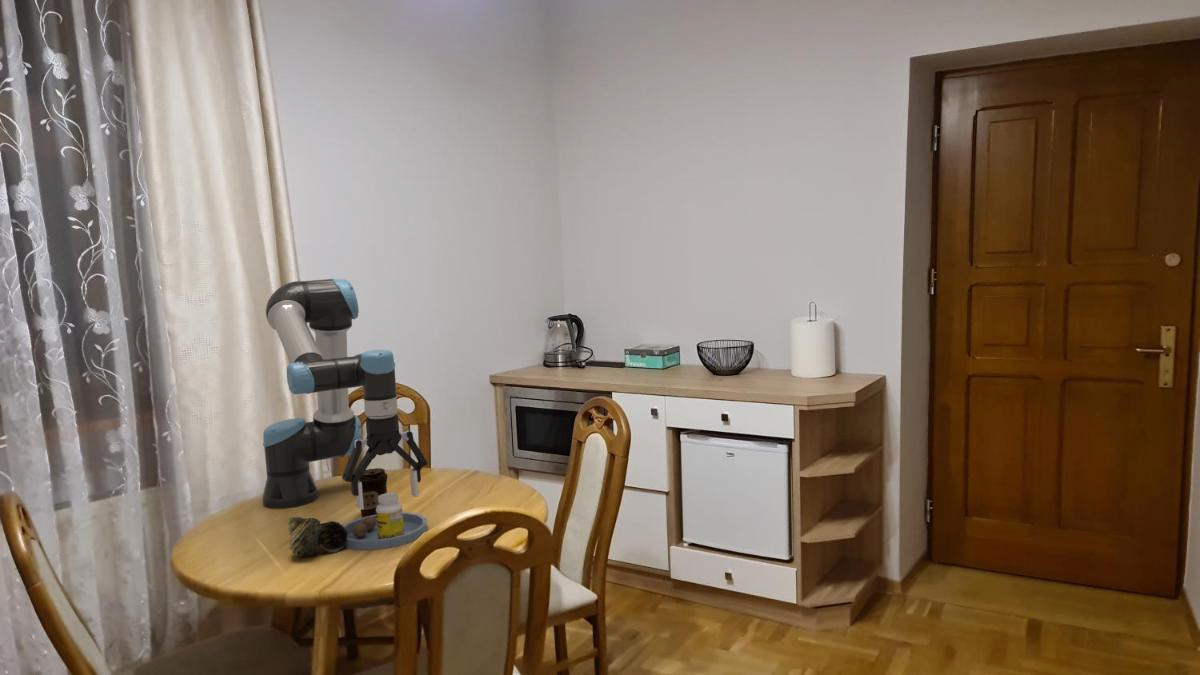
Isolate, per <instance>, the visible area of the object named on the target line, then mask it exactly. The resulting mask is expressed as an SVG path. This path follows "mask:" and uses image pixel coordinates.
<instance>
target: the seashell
mask: <svg viewBox="0 0 1200 675" xmlns="http://www.w3.org/2000/svg"><path fill="white" fill-rule="evenodd" d="M287 520H288V521H287V524H288V533H289V535H290V536H291V537H290V538H291V539H290V542H289V550H291V552H292V554H293V555H295V556H296V557H297V558H299V557H300V558H309V557H310V558H311V557H315V556H319V555H326V554H335V553H338V552H339V551H340V550H342V549H343V548H345V547H344V546H345V544H346V542H347V534H348V533H347V530H346V529H345V528H344V525H342V524H341V523H340V522H339V521H337V522H336V521H333V520H331V521H327V522H322V523H321V521H320V520H319V519H318V518H314V517H305V518H303V517H300V516H299V517H298V516H297V517H295V516H290V517H288V519H287Z"/></svg>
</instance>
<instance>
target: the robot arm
mask: <svg viewBox="0 0 1200 675" xmlns="http://www.w3.org/2000/svg"><path fill="white" fill-rule="evenodd" d="M359 313H360V312H359V302H358V299H357V294H356V292H355V289H354V287H353V284H352V283H351V282H350V280H347V279H346V278H345V279H344V278H342V279H341V278H336V279H335V278H327V279H317V280H316V279H315V280H305V281H304V280H301V281H300V280H297V281H291V282H288V283H285V284H283V285H281V286H280V287H278V288H277V289H276V290H275V291H274V292H273V293H272V294H271V296H270V297H269V299H268V300H267V303H266V307H265V316H266V319H267V322H268V324H269V326H270V327H271V328H272V329H273V330H275V331H276V333H277V336H278V338H279V341H280V342H281V345H282V347H283V350H284V352H285V354H286V356H287V359H288V361H289V364H288V365H287V367H286V380H287V386H288V390H289V391H290V393H291V394H293V395H302V394H305V395H310V394H315V393H317V408H318V409H317V410H315V411H314V412H313V414H312V421H306V419H305V418H303V417H296V418H288V419H284V420H282V421H281V420H279V421H277V422H275V423H272V424H270V425H268V426H266V427H265V429H264V431H263V437H262V438H263V443H262V445H263V446H262V447H264V448H263V449H264V458H265V469H266V481H265V485H264V490H263V494H262V505H263V506H264V507H265V508H269V509H287V508H294V507H299V506H304V505H306V504H309V503H312V502H315V500H317V499H319V490H318V487H317V485H316V482H315V481H314V478H313V475H312V474H311V471H310V470H311V469H310V463H311V462H312V463H313V462H317V461H323V460H329V459H334V458H343V457H344V458H345V457H346V456H349V458H348V461H347V462H346V466H345V469H344V471H343V474H342V477H341V479H342V480H343V481H345V482H347V483H350V487H351V494H352V496H354V497H355V499H356V502H355V503H356V508H358V510H360V511H361V510H362V509H364V506H363V493H362V482H360V481H359V479H360V478H361V476H362V475H363V473H364V472H365V470H368V467H369V466H370V465H371V463H372V461H373V460H374V459H375V458H376V456H377V455H378V456H383V455H386V454H388V455H390V454H393V453H394V452H395V453H396V454H398V455H399V456H400V457H401V458H402V459H403V460H404V461H406V462H407V463H408V464H409V466H411V467H412V468H409V479H410V492H411V496H413V497H415V498H418V497H419V483H421V481H422V478H421V475H422V474H421V471H422V470H423V467H427V465H428V461H427V459H426V458H425V456H424V454H423V453H422V451H421V449H420V448H419V446H418V445H417V443H416V441H415V438H414V434H413V432H412V431H411V430H408V429H405V430H404V431H402V432H400V425H399V421H400V420H399V415H398V414H397V413H398V412H399V411H398V398H397V397H398V396H397V384H396V370H395V368H396V362H395V360H394V359H395V358H394V354H393V351H392V350H389V349H374V350H367V351H364V352H362V353H358V354H356V355H353V356H348V337H347V336H348V333H347V332H348V331H349V330H350V329H351V328H352V327H353V320H356V319H358V318H359ZM307 323H308V324H307ZM311 330H312V331H313V332H314V335H315V338H314V336H313V334H312V332H311ZM357 387H358V388H359V387H362V392H363V401H364V416H366V417H365V430H366V437H365V439H362V428H361V426H362V423H361V420H360V418H359V417H358V416H357V415H355V411H354V410H353V409H352V408H350V407H349V406H350V405H349V402H350V401H349V389H350V388H357ZM402 439H403V440H404V441H405V442H406V444H407V445H408V447H409V448H410V450H411V452H412V453H413V455H414V456H415V458H416V460H417V461H416V460H415V459H414V458H413V457H412V456H411V455H409V454H408V453H407V452H406V451H405V450H404V449H403V448H402V447H401V446H400V445H399V444H400V442H401V440H402ZM365 446H367V447H368V449H367V450H366V452H365V454H364V456H363V458H362V459H361V460H360V462H359V463H358V461H359V459H360V456H361V453H362V450H363V449H364V447H365ZM357 464H358V465H357Z"/></svg>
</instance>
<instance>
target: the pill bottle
mask: <svg viewBox="0 0 1200 675" xmlns="http://www.w3.org/2000/svg"><path fill="white" fill-rule="evenodd" d="M378 502H379V505H378V506H377V508H376V519H377V532H378V539H387V538H392V537H396V536H400V535H404V523H403V512H404V511H403V505H402V503H401V502H399V494H398V493H396V492H387V493H385V494H382V495H380V496H378Z"/></svg>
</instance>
